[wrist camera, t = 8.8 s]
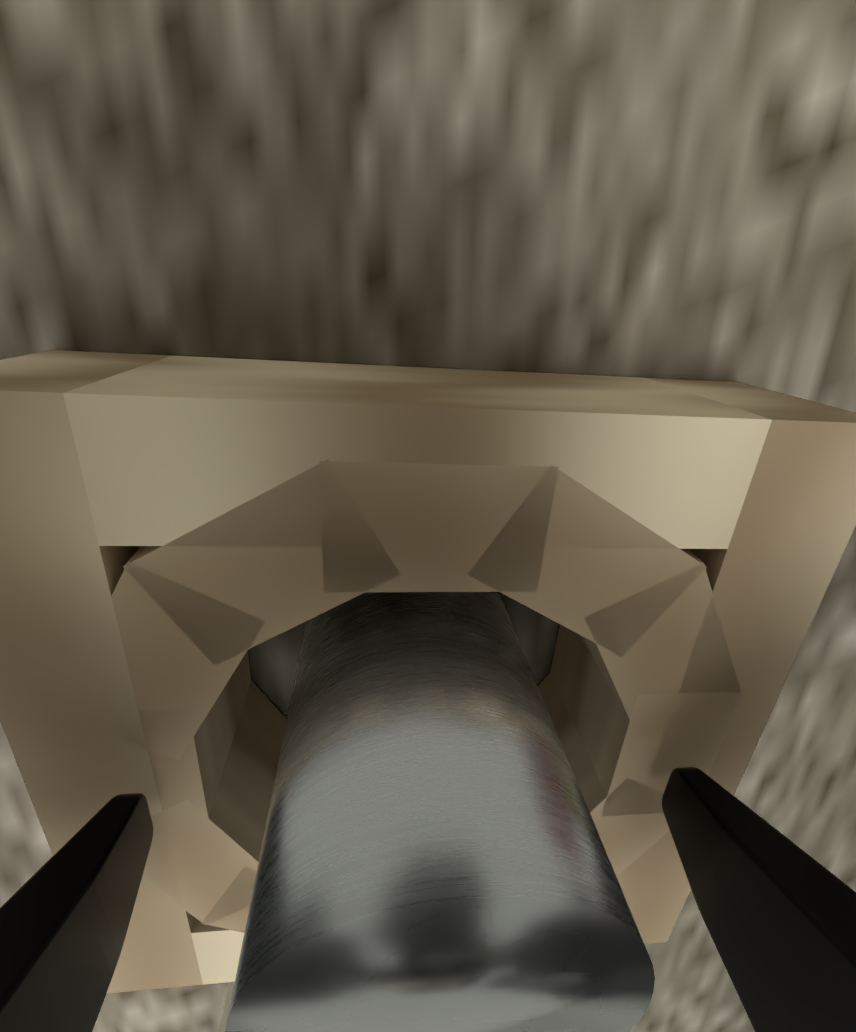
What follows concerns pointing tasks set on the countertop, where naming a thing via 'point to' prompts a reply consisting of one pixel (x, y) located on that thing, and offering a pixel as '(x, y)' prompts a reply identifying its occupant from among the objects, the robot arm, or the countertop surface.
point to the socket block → (388, 585)
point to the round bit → (430, 842)
